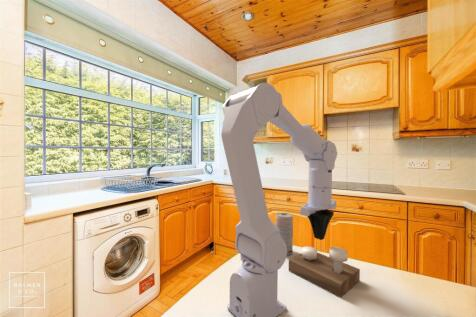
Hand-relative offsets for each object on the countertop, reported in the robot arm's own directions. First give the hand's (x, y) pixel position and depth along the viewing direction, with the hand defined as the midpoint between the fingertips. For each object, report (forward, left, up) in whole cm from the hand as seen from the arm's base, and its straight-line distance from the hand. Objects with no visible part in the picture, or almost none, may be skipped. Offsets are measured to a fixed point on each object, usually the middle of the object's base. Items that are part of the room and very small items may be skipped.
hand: (319, 238), depth 56 cm
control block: (0, -1, -9) cm, 9 cm away
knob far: (0, +3, -10) cm, 10 cm away
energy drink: (+3, +14, -10) cm, 17 cm away
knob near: (0, -5, -7) cm, 9 cm away
